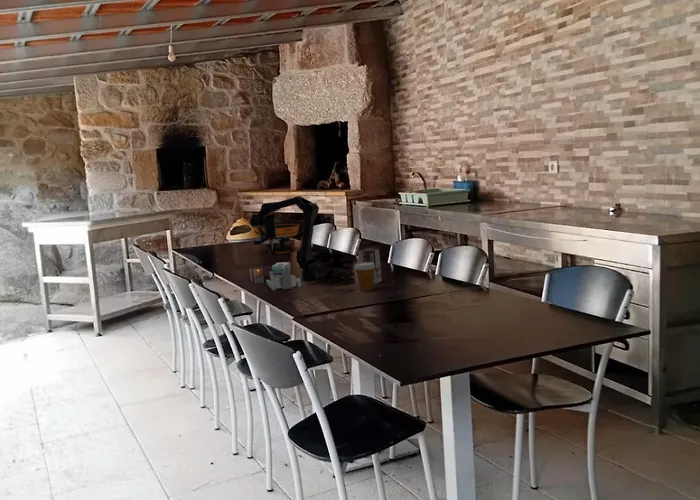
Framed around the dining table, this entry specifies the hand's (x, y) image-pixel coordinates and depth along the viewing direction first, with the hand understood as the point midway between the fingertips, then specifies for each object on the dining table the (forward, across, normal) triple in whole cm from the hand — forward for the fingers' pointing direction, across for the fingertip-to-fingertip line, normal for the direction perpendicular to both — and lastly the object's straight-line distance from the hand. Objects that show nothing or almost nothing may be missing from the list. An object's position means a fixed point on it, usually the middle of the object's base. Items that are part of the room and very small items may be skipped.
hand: (272, 256), depth 344 cm
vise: (+12, +2, +15) cm, 20 cm away
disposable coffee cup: (+12, -34, +55) cm, 66 cm away
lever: (+9, +9, +4) cm, 13 cm away
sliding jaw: (+12, -1, +30) cm, 32 cm away
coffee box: (+12, -41, +40) cm, 59 cm away
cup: (+12, -22, -97) cm, 100 cm away
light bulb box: (+12, -1, +20) cm, 24 cm away
